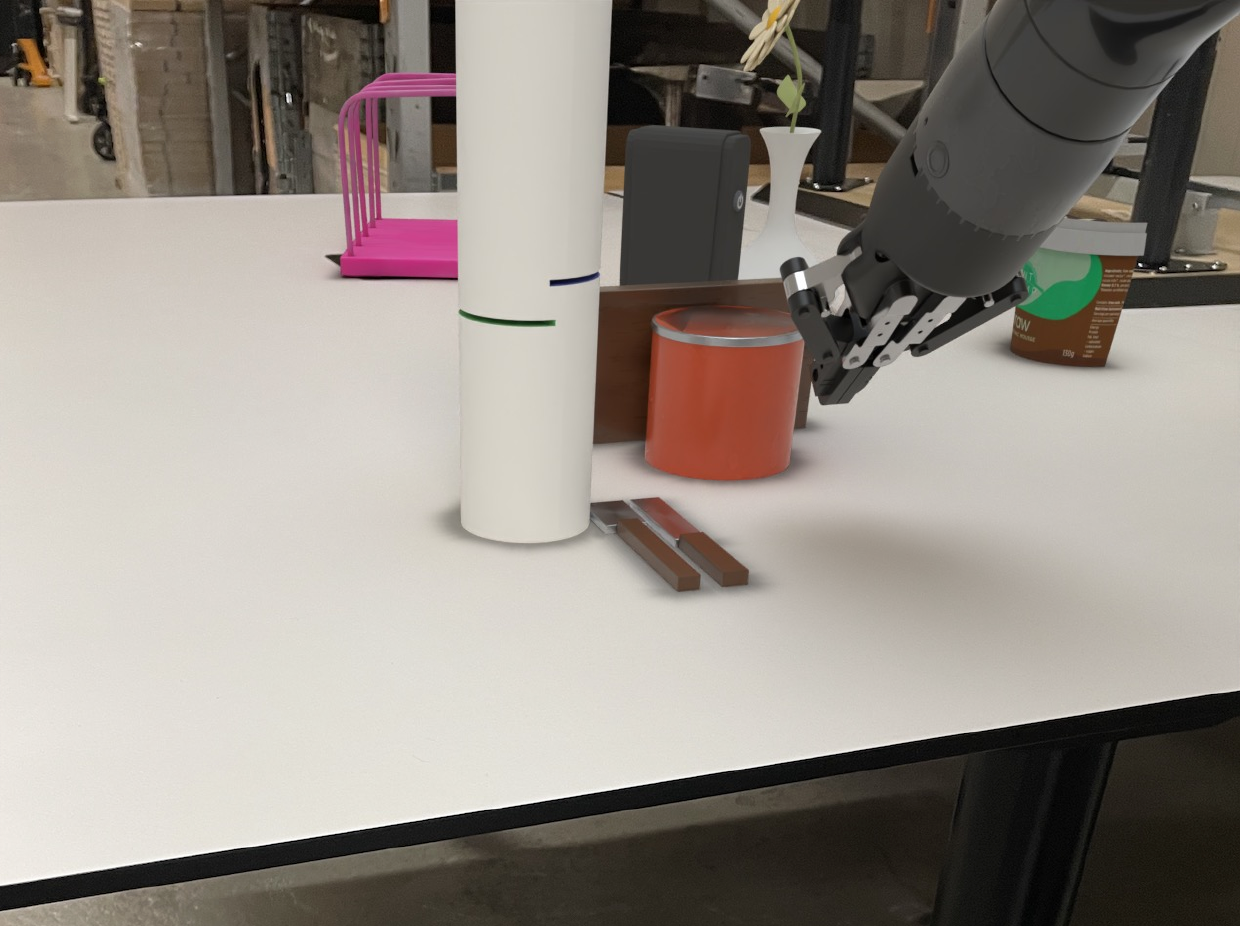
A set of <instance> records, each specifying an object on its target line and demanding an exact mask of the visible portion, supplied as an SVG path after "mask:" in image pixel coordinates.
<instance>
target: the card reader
mask: <svg viewBox="0 0 1240 926" xmlns="http://www.w3.org/2000/svg"><path fill="white" fill-rule="evenodd" d="M751 150H752V144H751V138H750V136H749V135H748V134H742V132H741V131H739V130H730V129H715V128H703V127H700V128H699V127H687V126H674V125H673V126H672V125H657V124H650V125H644V126H640V127H639V128H634V129H631V130H629V132H628V134H627V137H626V141H625V152H624V153H625V154H624V174H623V195H622V196H623V197H622V216H621V217H622V218H621V237H620V255H619V256H620V258H619V284H618V286H622V285H643V284H663V283H683V282H703V281H724V280H738V275H739V266H740V256H741V251H742V244H743V234H744V225H745V213H746V204H747V195H748V185H749V184H748V182H749V173H750V162H751V153H752V152H751Z"/></svg>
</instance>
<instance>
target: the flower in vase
mask: <svg viewBox="0 0 1240 926" xmlns="http://www.w3.org/2000/svg"><path fill="white" fill-rule="evenodd" d="M800 2H801V0H768V1H767V9H765V11H764V12H763V14H762V17H761V21H760V22H759V23H758V24H755V26H754V27H753V28H752V30H751V32H750V33H749V36H748V39H749V40H750V41H753V40H754V41H753V42H752V44H751V45H750V46H749V47H748V48H747V50H746V51H745V52H744V53H743V55H742V56H741V58H740V64H744V63H746V64H745V66H744V68H743V72H744V73H746V72H749V71H750V72H752V71H753V70H755V68H756V67H757V66H759V65H760V64H761V63H762V62H763V61H764V60H765V58H766V57H767V56H768V55H769V54H770V52H772V50H773V48H774V47H775V45H776V43H777V42H778V41H779V39H780V38H781V36H782V34H784V33H786V36H787V39H788V42H789V45H790V48H791V52H792V55H793V59H794V63H795V68H796V75H797V88H796V86H795V84H794V83H793V80H792V78H791V76H790V75H789V74H787V75H786V76H785V77H784V78H783V80H782V81H781V83H780V84H779V86H778V87H777V90H776V94H777V97H778V98H779V100H780V101H781V102H782V103H783V104H784V105H785V106H786V108H787V109H788V111H787V113H786V115H785V118H787V117H789V115H790V114H792V119H791V123H790V126H772V127H771V126H770V127H769V126H768V127H762V128H760V129H759V133H760V134H761V137H762V139H763V140H764V143H765V146H766V148H767V152H768V157H769V168H770V188H769V189H770V191H769V202H768V209H767V215H766V218H765V219H766V220H765V223H764V225H763V228H762V230H761V232H760V233H759V234H758V235H757V237H755V239H754V240H752V241H751V242H750V243H749V244H748V245H746V247H744V248H743V249H741V256H740V266H739V275H738V280H744V279H764V278H781V273H780V266H781V265H782V264H783V263H784V262H785V261H787V260H788V259H791V258H794V257H802V258H804V259H805V261H806V263H807V265H808V267H809V268H810V267H812V266H814V265H817V264H819V263H821V262H822V261H821V260H820V259H819V258H818V257H817V256H816V255H815V253H813V252H812V250H810V248H809V247H808V246H807V245H806V244H805V242H804V241H803V240H802V238H801V237H800V236H801V235H800V234H799V232H798V230H797V226H796V207H797V197H798V196H797V195H798V191H799V185H800V181H801V175H802V171H803V168H804V164H805V162H806V158H807V156H808V154H809V152H810V149H811V148H812V146H813V144H814V143H815V141H816V140H817V139H818V137H819V136H820V134H821V133H822V130H821V129H818V128H813V127H802V126H801V127H800V126H796V124H797V119H798V113H800V112H801V111H802V110H803V109H804V108H805V107H806V105H807V102H806V100H805V98H804V97H803V96H802V93H803V91H804V88H805V85H806V82H803V73H802V66H801V65H802V64H801V61H800V56H799V53H798V48H797V46H796V45H797V44H796V42H795V39H794V35H793V32H792V29H791V27H790V22H791V21H792V18H793V16H794V14H795V11H796V9H797V7H798V6H799V4H800ZM839 296H840V291H839V287H838V288H837V289H836V291H835V298H834V300H833V301H832V302H831V303H830V304H829V306H831V305H833V304H834V303H835V302H836V300H837V299H838V298H839Z"/></svg>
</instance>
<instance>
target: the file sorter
mask: <svg viewBox="0 0 1240 926" xmlns="http://www.w3.org/2000/svg"><path fill="white" fill-rule="evenodd" d="M418 97H419V98H422V97H423V98H425V97H426V98H427V97H456V73H446V72H445V73H441V72H440V73H439V72H438V73H437V72H387V73H384V74H382V75H380V76H379V77H377V78H376V79H374V80H373V82H371V83H370V82H369V84H367V85H365V86H364V87H363V88H361V90H360V91H359V92H357V93H355V94H353V95H352V96H350V97H349V98H348V99H346V101H345V102H344V103H343V105H342V106H341V109H340V112H339V115H338V119H337V130H338V131H337V132H338V146H339V162H340V175H341V188H342V201H343V202H342V203H343V212H344V227H345V238H346V239H345V240H346V249H345V251H344V252H343V253H342V255H341V256H340V258H339V259H340V260H339V261H340V275H341V276H347V277H351V278H352V277H357V278H382V277H407V278H409V277H411V278H413V277H414V278H450V279H451V278H453V279H458V219H442V218H396V217H395V218H394V217H393V218H389V217H388V218H387V217H382V197H381V174H380V173H381V172H380V170H381V169H380V148H379V119H378V117H379V116H378V113H379V112H378V101H379V99H385V98H387V99H388V98H418ZM363 100H365V129H366V130H365V131H366V134H365V135H366V158H367V159H366V160H367V163H366V164H367V183H368V185H367V186H368V187H367V188H368V205H369V206H368V207H369V208H368V209H369V210H368V211H369V221H368V214H367V202H366V191H365V178H364V166H363V156H362V155H363V154H362V141H361V127H360V107H361V104H362V101H363ZM346 115H347V141H348V155H349V157H348V158H349V170H350V183H351V184H350V185H351V200H352V213H353V215H351V202H350V192H349V177H348V164H347V151H346V134H345V133H346V132H345V122H346V121H345V120H346ZM352 216H353V225H354V227H353V228H354V238H353V228H352ZM360 219H361V220H360ZM361 229H362V230H361ZM353 239H354V240H353Z"/></svg>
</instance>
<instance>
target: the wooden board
mask: <svg viewBox="0 0 1240 926" xmlns="http://www.w3.org/2000/svg"><path fill="white" fill-rule="evenodd" d="M706 305H730V306H748V307H758V308H766V309H772V310H778V311H782V312H787V313H790V311H789V307H788V303H787V299H786V295H785V291H784V286H783V282H782V278H764V279H744V280H724V281H703V282H683V283H663V284H643V285H622V286H619V285H607V286H606V285H605V286H602V285H601V286H600V292H599V315H598V337H597V360H596V383H595V406H594V429H593V445H599V444H612V443H625V442H638V441H646V426H647V410H648V395H649V379H650V363H651V347H652V332H653V330H652V328H651V321H652V318H653V316H654V315H656V314H658V313H660V312H663V311H666V310H670V309H675V308H681V307H690V306H706ZM813 361H815V359H814V358H813V356H812V354H811V352H810V350H809V349H808V347H807V345H806V343H804V351H803V359H802V367H801V375H800V383H799V391H798V400H797V408H796V416H795V424H794V430H797V429H806V428H807V419H808V414H809V413H808V412H809V403H810V397H811V387H812V381H811V377H810V373H809V371H810V366H811V364H812V363H813Z"/></svg>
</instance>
